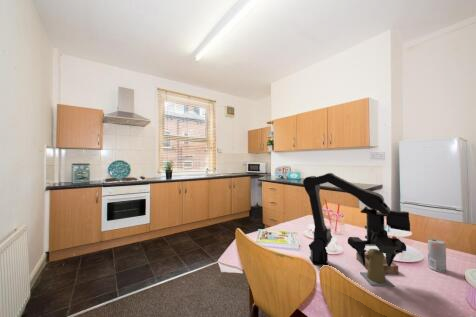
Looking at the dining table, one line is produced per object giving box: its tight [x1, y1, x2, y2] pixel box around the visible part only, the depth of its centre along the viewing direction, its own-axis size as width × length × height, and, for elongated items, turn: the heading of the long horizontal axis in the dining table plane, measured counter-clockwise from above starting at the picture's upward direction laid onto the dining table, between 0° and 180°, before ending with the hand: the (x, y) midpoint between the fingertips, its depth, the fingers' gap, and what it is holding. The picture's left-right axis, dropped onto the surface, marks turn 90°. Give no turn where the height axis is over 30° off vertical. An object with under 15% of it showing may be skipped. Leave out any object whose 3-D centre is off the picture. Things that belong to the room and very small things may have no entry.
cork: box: [366, 248, 386, 283], centre depth 75 cm, size 6×6×11 cm
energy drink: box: [427, 238, 447, 274], centre depth 82 cm, size 5×5×12 cm
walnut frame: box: [355, 252, 399, 274], centre depth 85 cm, size 11×11×3 cm
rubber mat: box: [359, 271, 395, 288], centre depth 75 cm, size 8×8×1 cm
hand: (376, 265), depth 75 cm, fingers open, 9 cm apart
